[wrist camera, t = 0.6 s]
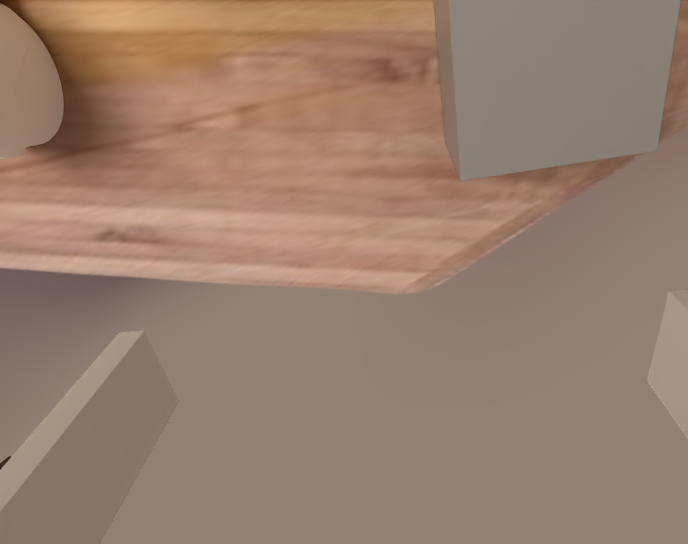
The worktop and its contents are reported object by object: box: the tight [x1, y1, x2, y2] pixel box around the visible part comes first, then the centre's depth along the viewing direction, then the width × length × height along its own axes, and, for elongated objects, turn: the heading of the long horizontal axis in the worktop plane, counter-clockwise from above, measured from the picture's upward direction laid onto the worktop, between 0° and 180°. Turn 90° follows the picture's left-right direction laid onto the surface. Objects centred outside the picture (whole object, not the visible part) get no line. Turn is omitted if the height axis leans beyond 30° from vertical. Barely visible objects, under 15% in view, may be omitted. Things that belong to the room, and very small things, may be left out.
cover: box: [433, 0, 681, 181], centre depth 23 cm, size 15×10×8 cm, turn 11°
